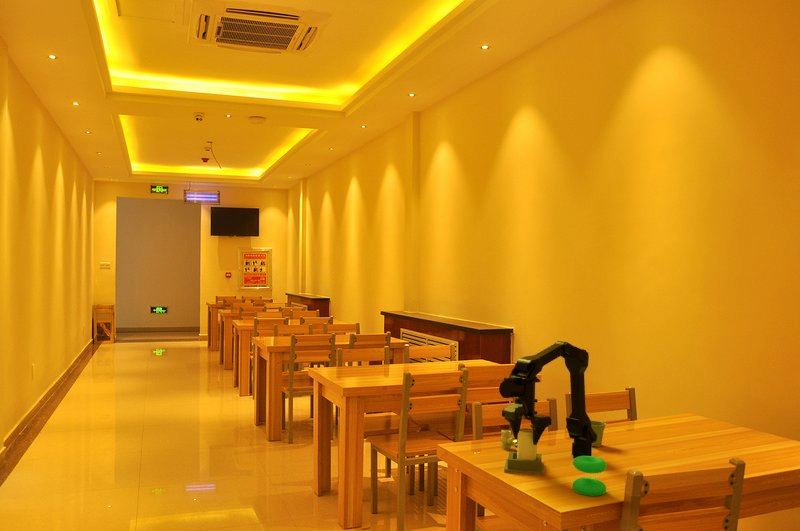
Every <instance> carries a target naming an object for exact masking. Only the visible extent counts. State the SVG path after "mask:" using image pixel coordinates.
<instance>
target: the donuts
mask: <svg viewBox="0 0 800 531" xmlns="http://www.w3.org/2000/svg"><path fill="white" fill-rule="evenodd" d="M572 464H573V466H574V468H575V469H576V470H578V471H579V472H582V473H586V474H600V473H603V472H605V471H606V469H607V467H608V463H607V462H606V460H605V459H603V458H602V457H598V456H593V455H592V456H579V457H576V458H573V461H572ZM571 487H572V489H573V490H574V492H576V493H577V494H580V495H583V496H588V495H589V497H597V496H603V495H604V494H605V493H606V492H607V486H606V484H605V482H603V481H602V480H599V479H598V478H593V477H579V478H576V479H575V480H573V482H572V486H571Z"/></svg>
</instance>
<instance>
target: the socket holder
mask: <svg viewBox="0 0 800 531" xmlns="http://www.w3.org/2000/svg"><path fill="white" fill-rule="evenodd" d="M503 472H504V473H510V474H511V473H512V474H520V473H521V474H523V475H532V474H533V475H536V476H545V462H544V461H542V453H537V460H536V461H534V460H522V459H517V452H516V451H509V452H508V457H507V458H506V460H505V463H504V469H503Z"/></svg>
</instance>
